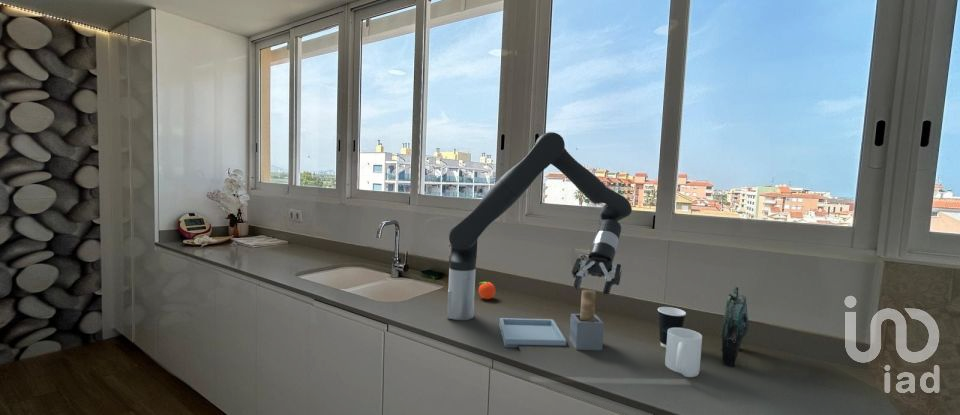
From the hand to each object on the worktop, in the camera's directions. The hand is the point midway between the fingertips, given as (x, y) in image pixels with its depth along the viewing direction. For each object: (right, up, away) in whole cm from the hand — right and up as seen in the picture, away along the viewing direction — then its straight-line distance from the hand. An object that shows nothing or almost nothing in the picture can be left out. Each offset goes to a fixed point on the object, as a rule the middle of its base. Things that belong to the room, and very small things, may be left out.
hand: (590, 291), depth 124 cm
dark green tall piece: (+41, -19, -1) cm, 45 cm away
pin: (-2, -16, -1) cm, 16 cm away
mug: (+20, -19, -14) cm, 31 cm away
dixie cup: (+25, -18, +4) cm, 31 cm away
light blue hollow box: (-2, -17, 0) cm, 17 cm away
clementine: (-31, -12, +45) cm, 56 cm away
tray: (-17, -16, +7) cm, 24 cm away
